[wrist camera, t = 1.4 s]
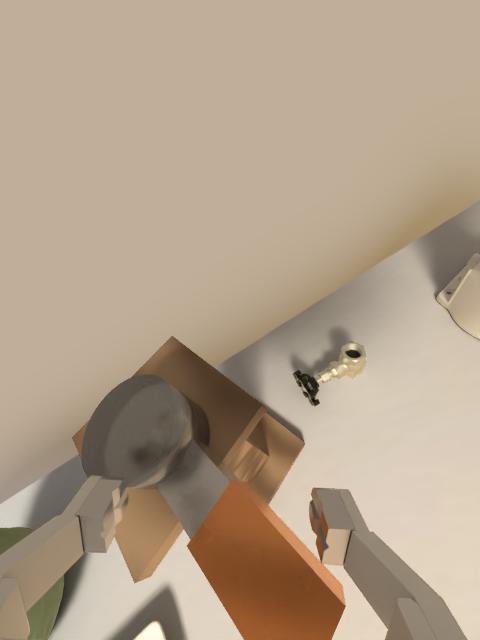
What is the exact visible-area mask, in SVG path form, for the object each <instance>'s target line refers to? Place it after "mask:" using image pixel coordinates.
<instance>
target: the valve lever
mask: <svg viewBox="0 0 480 640" xmlns="http://www.w3.org/2000/svg"><path fill="white" fill-rule="evenodd" d="M209 441H210V426H209V421H208V418H207V416H206V413H205V412H204V410H203V409H202V408H201V407H200V406H199V405H198V404H197V403H195V402H194V401H193V400H191V399H190V398H189V397H187V396H186V395H184V394H183V393H182V392H180V391H179V390H177V389H176V388H175V387H173V386H172V385H170V384H169V383H168V382H166V381H165V380H164V379H162V378H160V377H158V376H156V375H151V374H143V375H138V376H134V377H132V378H129V379H127V380H126V381H124V382H122V383H121V384H119V385H118V386H117V387H115V388H114V389H113V390H112V391H111V392H110V393H109V394H108V395H107V396H106V397H105V398H104V399H103V400H102V401H101V403H100V404H99V405H98V407H97V408H96V410H95V411H94V413H93V415H92V417H91V419H90V421H89V423H88V425H87V428H86V430H85V434H84V437H83V442H82V450H81V459H82V465H83V468H84V471H85V473H86V475H87V476H88V478H89V477H90V476H91V475H95V476H109V477H120V478H127V481H128V485H127V487H126V488H131V489H152V490H160V492H161V493H162V495H163V497H164V498H165V500H166V501H167V503H168V504H169V506H170V508H171V509H172V511H173V512H174V514H175V516H176V517H177V519H178V520H179V522H180V523H181V525H182V527H183V528H184V530H185V531H186V533H187V534H188V536H189V538H190V539H191V541H190V542H189V544H188V545H187V547H188V549H189V550H190V552H191V553H192V555H193V557H194V558H195V560H196V562H197V563H198V565H199V567H200V568H201V570H202V571H203V573H204V575H205V576H206V578H207V580H208V581H209V583H210V585H211V586H212V588H213V589H214V591H215V593H216V594H217V596H218V598H219V599H220V601H221V603H222V604H223V606H224V607H225V609H226V611H227V612H228V614H229V616H230V617H231V619H232V620H233V622H234V624H235V625H236V627H237V629H238V630H239V632H240V634H241V635H242V637H243V638H244V640H331V639H332V637H333V635H334V632H335V630H336V628H337V625H338V623H339V621H340V618H341V616H342V614H343V611H344V609H345V607H346V605H345V599H344V593H343V587H342V584H341V583H340V582H339V581H338V580H337V579H336V578H335V577H334V576H333V575H332V574H331V573H330V571H329V570H328V569H327V568H326V567H325V566H324V565H323V564H321V562H320V561H319V560H318V559H317V558H316V556H315V555H314V554H313V553H312V552H311V551H310V550H309V549H308V548H307V547H306V546H305V545H304V544H303V543H302V541H301V540H300V539H299V538H298V537H297V536H296V535H295V534H294V533H293V532H292V531H291V530H290V529H289V527H288V526H287V525H286V524H285V523H284V522H283V521H282V520H281V519H280V518H279V517H278V516H277V515H276V514H275V512H274V511H273V510H272V509H271V508H270V507H269V506H268V505H267V504H266V503H265V502H264V501H263V500H262V498H261V497H260V496H259V495H258V494H257V493H256V492H255V491H254V490H253V489H252V488H251V487H250V486H249V485H248V483H247V482H243V481H240V480H239V479H238V478H237V477H236V476H235V475H234V473H233V472H232V471H231V470H230V469H229V468H228V467H227V466H226V465H225V464H224V463H223V461H222V460H221V459H220V458H219V457H218V456H217V455H216V454H215V453H214V452H213V451H212V449H211V448H210V447H209Z"/></svg>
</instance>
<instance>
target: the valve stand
mask: <svg viewBox="0 0 480 640" xmlns="http://www.w3.org/2000/svg"><path fill="white" fill-rule="evenodd" d="M143 374H151V375H156V376H158V377H160V378H162V379H164V380H165V381H166V382H168V383H169V384H170V385H172V386H173V387H175V388H176V389H177V390H179V391H180V392H182V393H183V394H184V395H186V396H187V397H189V398H190V399H191V400H193V401H194V402H195V403H197V404H198V405H199V406H200V407H201V408H202V409H203V410H204V412H205V413H206V416H207V418H208V421H209V426H210V441H209V447H210V448H211V449H212V451H213V452H214V453H215V454H216V455H217V456H218V457H219V458H220V459H221V460H222V461H223V463H224V464H225V465H226V466H227V467H228V468H229V469H230V470H231V471H232V472H233V473H234V475H235V476H236V477H237V478H238V479H239V480H240V481H243V482H247V483H248V485H249V486H250V487H251V488H252V489H253V490H254V491H255V492H256V493H257V494H258V495H259V496H260V497H261V498H262V500H263V501H264V502H265V503H266V504H267V505H269V503H270V501H271V500H272V498H273V496H274V495H275V493H276V491H277V490H278V488H279V486H280V485H281V483H282V481H283V480H284V478H285V476H286V475H287V473H288V471H289V470H290V468H291V466H292V465H293V463H294V461H295V460H296V458H297V457H298V455H299V453H300V452H301V450H302V448H303V447H304V445H305V443H304V442H303V441H302V440H301V439H299V438H298V437H297V436H296V435H294V434H293V433H292V432H290V431H289V430H288V429H287V428H285V427H284V426H283V425H281V424H280V423H279V422H278V421H276V420H275V419H274V418H272V417H271V416H270V415H269V414H267V413H266V409H265V408H264V406H263V405H262V404H261V403H259V402H258V401H257V400H256V399H254V398H253V397H252V396H250V395H249V394H248V393H246V392H245V391H244V390H242V389H241V388H240V387H238V386H237V385H236V384H235V383H233V382H232V381H231V380H229V379H228V378H227V377H225V376H224V375H223V374H221V373H220V372H219V371H217V370H216V369H215V368H214V367H212V366H211V365H209V364H208V363H207V362H206V361H204V360H203V359H202V358H200V357H199V356H198V355H196V354H195V353H194V352H192V351H191V350H190V349H189V348H187V347H186V346H185V345H183V344H182V343H181V342H179V341H178V340H177V339H175V338H174V337H173V336H172V337H171V338H170V339H169V340H168V341H167V342H166V343H165V344H164V345H163V346H162V347H161V348H160V349H159V350H158V351H157V352H156V353H155V354H154V355H153V356H152V357H151V358H150V359H149V360H148V361H147V362H146V363H145V364H144V365H143V366H142V367H141V368H140V369H139V370H138V371H137V372H136V373H135V374H134V375H133V376H132V377H134V376H138V375H143ZM132 377H131V378H132ZM89 421H90V420H89ZM89 421H88V422H87V423H86V424H85V425H84V426H83V427H82V428H81V429H80V430H79V431H78V432H77V433H76V434H75V435H74V436H73V440H74V443H75V445H76V448H77V450H78V452H79V455H80V457H81V450H82V442H83V437H84V434H85V430H86V428H87V425H88V423H89ZM126 490H127V491H128V493H129V499H128V505H127V508H126V512H125V514H124V516H123V519H122V520H121V521H120V522H119V523H118V524H117V525H116V526H115V528H116V533H115V539H116V541H117V543H118V546H119V548H120V550H121V553H122V555H123V557H124V560H125V562H126V564H127V567H128V569H129V571H130V574H131V576H132V578H133V581H134V583H137V582H139V581H141V580H143V579H146V578H148V577H150V576H151V575H152V574H153V572H154V571H155V569H156V568H157V566H158V565H159V564H160V562H161V561H162V559H163V558H164V556H165V555H166V554H167V552H168V551H169V549H170V548H171V546H172V545H173V544H174V542H175V541H176V539H177V538H178V536H179V535H180V534H181V532H182V531H183V529H184V528H183V527H182V525H181V523H180V522H179V520H178V519H177V517H176V516H175V514H174V512H173V511H172V509H171V508H170V506H169V504H168V503H167V501H166V500H165V498H164V497H163V495H162V493H161V492H160V490H152V489H131V488H126Z"/></svg>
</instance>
